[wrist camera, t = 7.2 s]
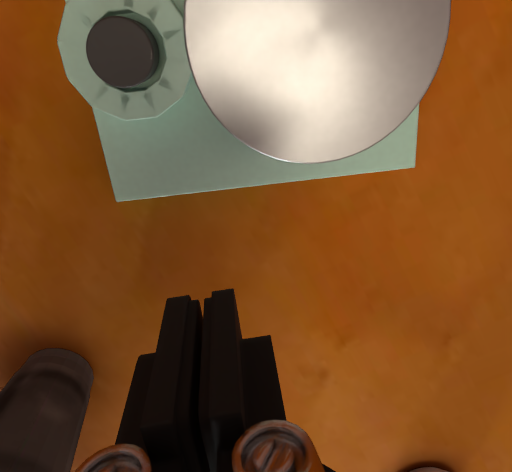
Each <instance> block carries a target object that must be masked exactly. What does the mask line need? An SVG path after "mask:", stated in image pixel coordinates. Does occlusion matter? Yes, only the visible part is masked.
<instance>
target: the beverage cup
mask: <svg viewBox="0 0 512 472" xmlns="http://www.w3.org/2000/svg"><path fill="white" fill-rule="evenodd" d="M93 378H94V377H93V371H92V369H91V367H90V365H89V364H88V362H87V361H86V360H85V359H83V358H82V357H81V356H80V355H78V354H76V353H74V352H72V351H69V350H65V349H60V348H48V349H44V350H40V351H37V352H36V353H34V354H33V355H31V356H30V357H29V358H28V360H27V361H26V362H25V364H24V365H23V366H22V367H21V368H20V369H19V370H18V371H17V372H16V373H15V374H14V375H13V377H12V378H11V379H10V380H9V382H8V383H7V384H6V386H5V387H4V388H3V389H2V391H1V392H0V472H70V470H71V467H72V463H73V459H74V455H75V451H76V447H77V444H78V440H79V436H80V432H81V428H82V425H83V421H84V417H85V413H86V409H87V405H88V402H89V398H90V390H91V386H92V382H93Z"/></svg>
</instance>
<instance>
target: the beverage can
mask: <svg viewBox="0 0 512 472" xmlns="http://www.w3.org/2000/svg"><path fill="white" fill-rule="evenodd" d="M410 472H448V471H445V470H442V469H439V468H434V467H424V468H419V469H415V470H412V471H410Z"/></svg>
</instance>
